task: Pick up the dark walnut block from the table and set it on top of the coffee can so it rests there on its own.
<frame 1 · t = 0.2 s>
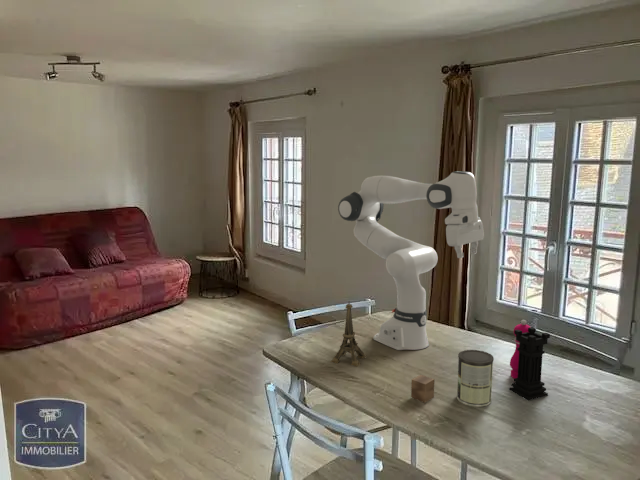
hand: (467, 255, 185), 39 cm above the table, tool pointing down, fingers open, 8 cm apart
chess piece: (528, 393, 165), on the table
coffee can: (473, 399, 160), on the table
pepper mill: (520, 377, 176), on the table
walnut block: (422, 397, 162), on the table
eiffel tower: (348, 359, 193), on the table
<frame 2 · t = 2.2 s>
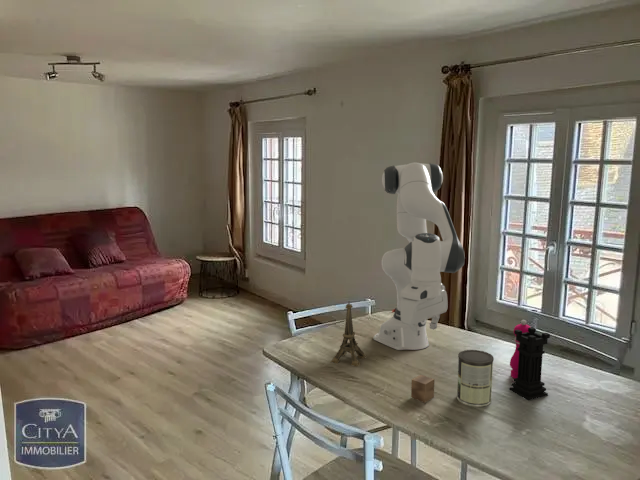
hand: (424, 332, 158), 21 cm above the table, tool pointing down, fingers open, 8 cm apart
nothing on the table moved.
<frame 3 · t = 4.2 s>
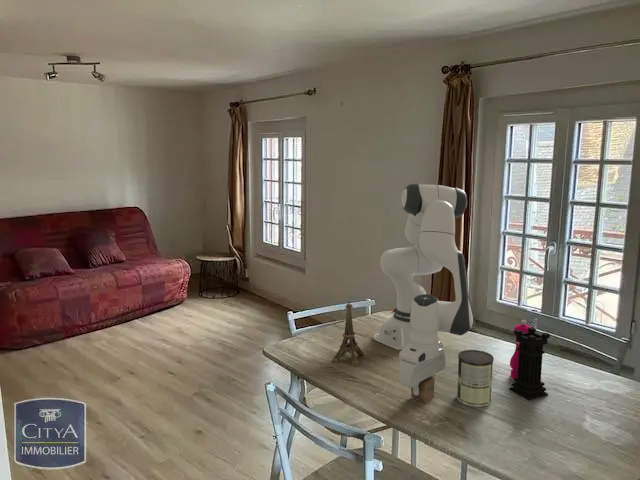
hand: (422, 390, 161), 2 cm above the table, tool pointing down, fingers closed on walnut block, 5 cm apart
walnut block: (422, 397, 162), on the table, touching gripper
everything else where it was.
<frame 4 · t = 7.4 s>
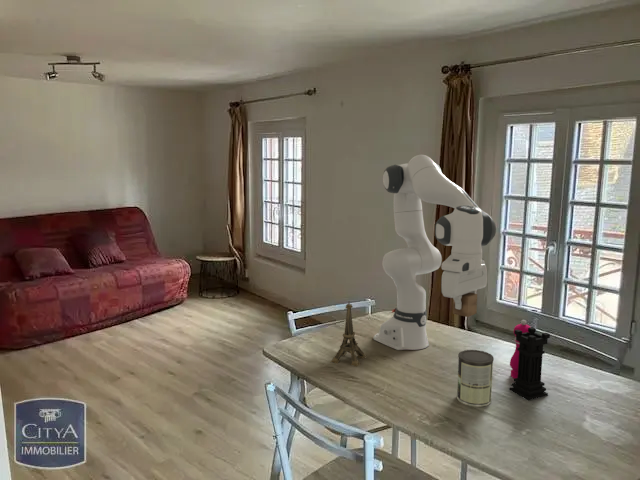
hand: (464, 306, 156), 29 cm above the table, tool pointing down, fingers closed on walnut block, 5 cm apart
walnut block: (464, 313, 156), point 27 cm above the table, touching gripper
everything else where it was.
when the fingers open (17 cm above the table, at t = 10.4 s): walnut block stays where it is, resting on coffee can.
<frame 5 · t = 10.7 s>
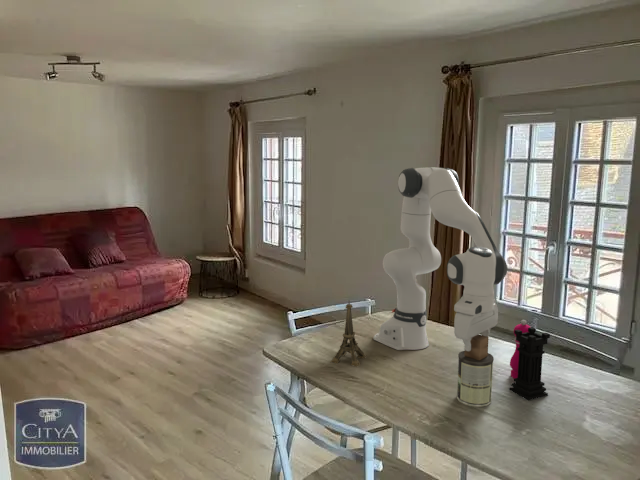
hand: (476, 346, 158), 17 cm above the table, tool pointing down, fingers open, 8 cm apart
coffee can: (473, 399, 160), on the table, touching walnut block
walnut block: (475, 355, 158), point 14 cm above the table, touching coffee can
everything else where it was.
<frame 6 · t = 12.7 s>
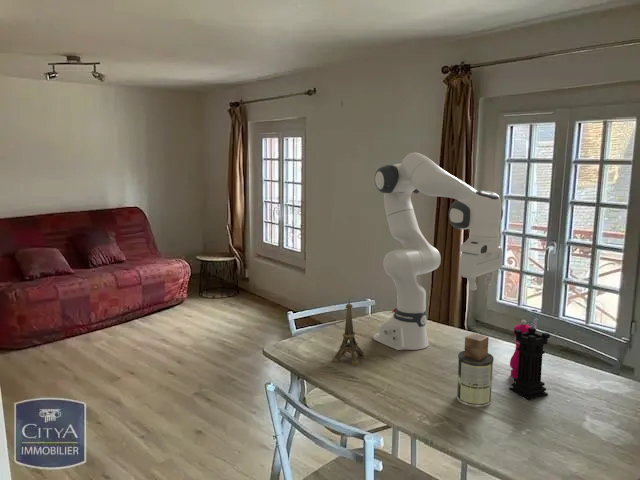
hand: (480, 287, 164), 33 cm above the table, tool pointing down, fingers open, 8 cm apart
nothing on the table moved.
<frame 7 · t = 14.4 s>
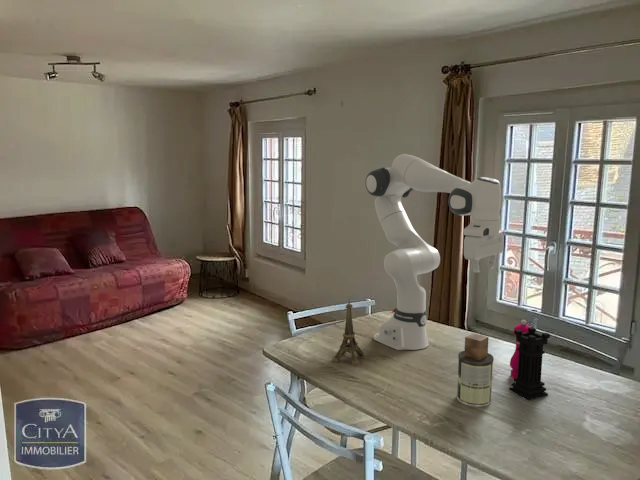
hand: (483, 269, 170), 37 cm above the table, tool pointing down, fingers open, 8 cm apart
nothing on the table moved.
at the end: walnut block inside the target area on the coffee can (0.0 cm from its centre), point 14.3 cm above the coffee can's base; walnut block tilted 0°; walnut block touching coffee can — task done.
